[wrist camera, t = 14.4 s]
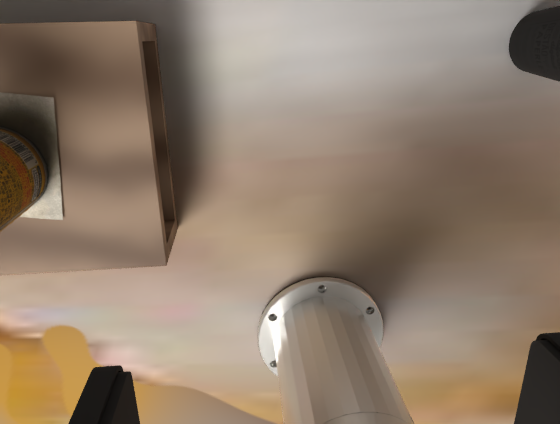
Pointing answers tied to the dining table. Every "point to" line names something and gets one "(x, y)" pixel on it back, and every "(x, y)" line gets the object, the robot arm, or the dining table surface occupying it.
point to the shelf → (94, 146)
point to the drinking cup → (538, 43)
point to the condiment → (28, 159)
